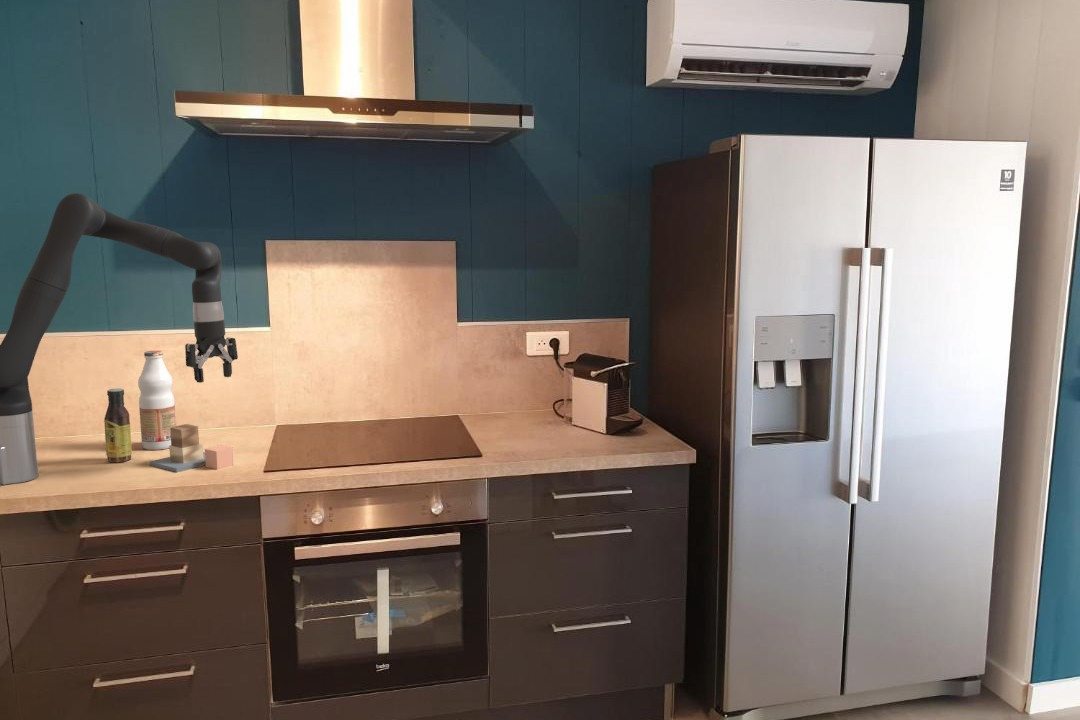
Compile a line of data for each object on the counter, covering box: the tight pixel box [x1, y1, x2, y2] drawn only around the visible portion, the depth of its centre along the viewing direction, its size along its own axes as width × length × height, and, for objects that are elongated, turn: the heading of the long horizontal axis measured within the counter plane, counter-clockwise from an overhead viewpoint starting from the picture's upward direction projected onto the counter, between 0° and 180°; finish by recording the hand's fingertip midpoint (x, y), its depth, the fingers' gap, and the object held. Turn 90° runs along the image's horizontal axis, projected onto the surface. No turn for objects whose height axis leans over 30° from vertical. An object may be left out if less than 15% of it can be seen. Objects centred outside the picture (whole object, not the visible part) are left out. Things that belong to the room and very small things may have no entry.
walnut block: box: [170, 423, 200, 448], centre depth 225 cm, size 5×5×5 cm
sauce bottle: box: [104, 387, 133, 464], centre depth 227 cm, size 6×6×20 cm
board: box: [149, 451, 206, 473], centre depth 226 cm, size 14×12×1 cm
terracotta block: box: [204, 444, 234, 471], centre depth 223 cm, size 5×5×5 cm
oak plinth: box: [168, 442, 204, 463], centre depth 226 cm, size 6×6×4 cm
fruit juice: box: [137, 350, 177, 451], centre depth 241 cm, size 9×9×28 cm
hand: (214, 379), depth 221 cm, fingers open, 8 cm apart
